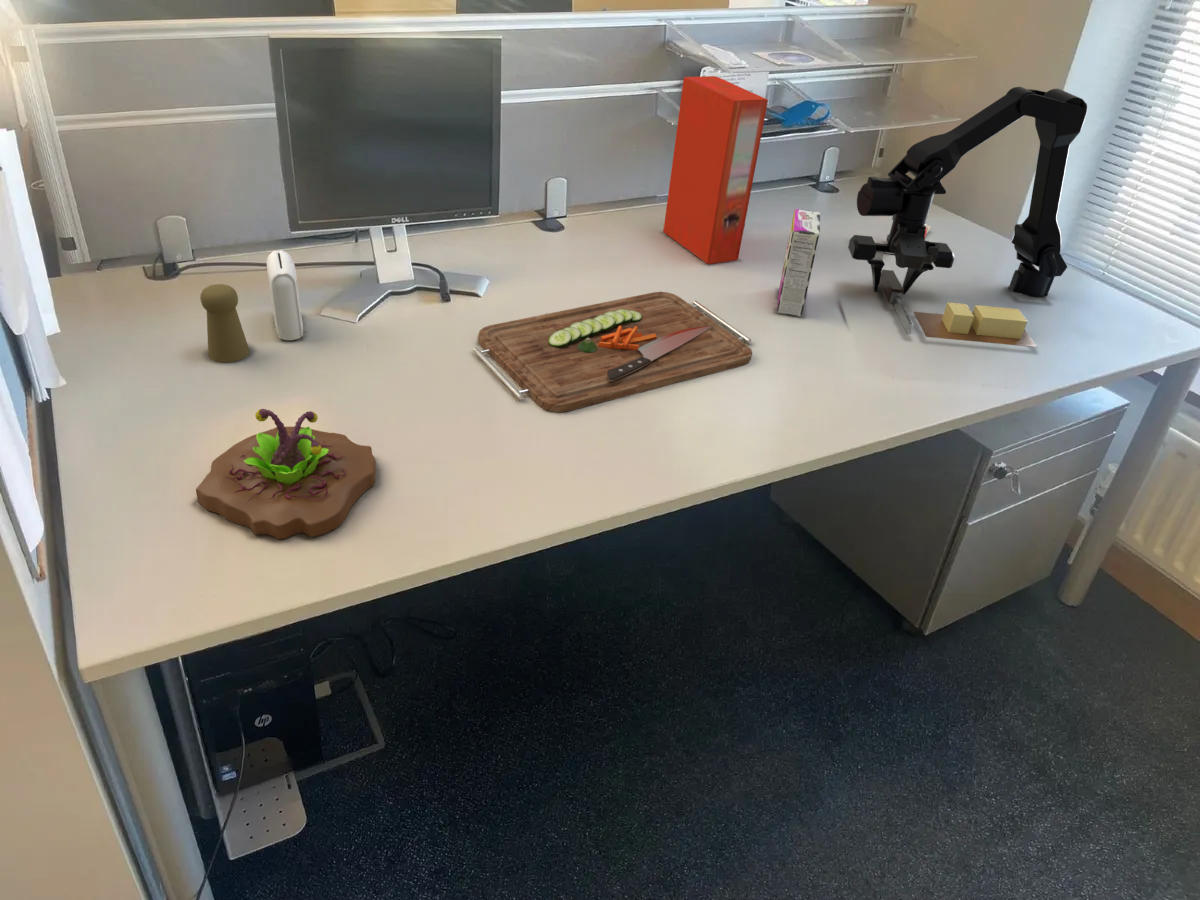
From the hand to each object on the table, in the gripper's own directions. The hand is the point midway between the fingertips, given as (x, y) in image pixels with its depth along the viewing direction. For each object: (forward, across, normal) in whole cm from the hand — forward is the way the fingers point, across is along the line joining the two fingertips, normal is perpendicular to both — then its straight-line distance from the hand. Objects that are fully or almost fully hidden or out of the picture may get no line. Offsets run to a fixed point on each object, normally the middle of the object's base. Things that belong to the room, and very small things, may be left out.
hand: (889, 292), depth 175 cm
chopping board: (+1, -52, -30) cm, 60 cm away
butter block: (0, +17, -12) cm, 21 cm away
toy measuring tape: (+1, +12, +32) cm, 34 cm away
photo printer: (+1, -106, -34) cm, 111 cm away
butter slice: (0, +9, -12) cm, 16 cm away
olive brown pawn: (+1, -112, -44) cm, 120 cm away
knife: (+1, 0, -6) cm, 6 cm away
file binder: (+1, -36, +18) cm, 40 cm away
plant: (+1, -92, -75) cm, 118 cm away
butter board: (+1, +13, -12) cm, 18 cm away
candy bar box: (+1, -20, -6) cm, 21 cm away
